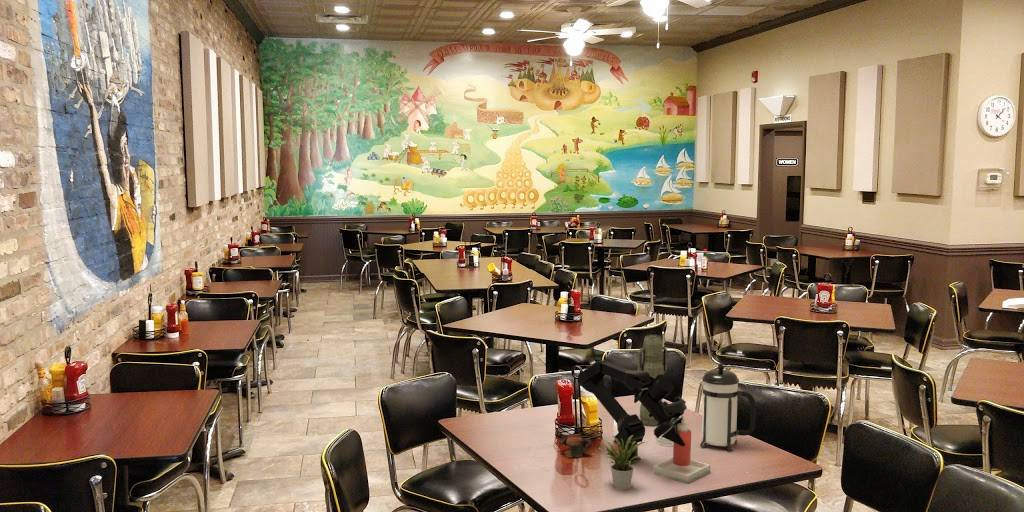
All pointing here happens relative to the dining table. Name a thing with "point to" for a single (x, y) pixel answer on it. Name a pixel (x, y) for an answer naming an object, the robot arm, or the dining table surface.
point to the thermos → (651, 368)
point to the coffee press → (722, 408)
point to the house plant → (622, 463)
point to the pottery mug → (575, 445)
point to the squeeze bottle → (682, 452)
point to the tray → (681, 470)
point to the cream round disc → (664, 442)
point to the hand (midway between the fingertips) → (686, 442)
